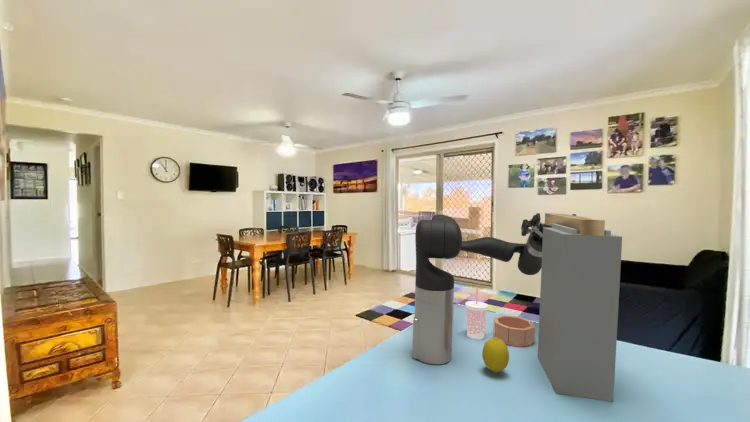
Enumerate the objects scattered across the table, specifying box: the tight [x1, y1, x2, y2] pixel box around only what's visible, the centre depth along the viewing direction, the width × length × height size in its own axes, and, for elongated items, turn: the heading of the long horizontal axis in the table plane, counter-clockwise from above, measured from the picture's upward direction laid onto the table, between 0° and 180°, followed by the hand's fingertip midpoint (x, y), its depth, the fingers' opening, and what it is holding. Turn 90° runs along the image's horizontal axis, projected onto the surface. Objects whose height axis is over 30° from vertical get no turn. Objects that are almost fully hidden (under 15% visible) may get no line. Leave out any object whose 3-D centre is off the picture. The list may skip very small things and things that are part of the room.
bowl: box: [492, 314, 536, 348], centre depth 90 cm, size 10×10×5 cm
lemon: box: [481, 336, 510, 374], centre depth 73 cm, size 6×6×8 cm
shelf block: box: [537, 224, 623, 403], centre depth 71 cm, size 10×15×33 cm, turn 166°
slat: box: [544, 212, 606, 236], centre depth 75 cm, size 4×26×3 cm, turn 166°
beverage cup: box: [464, 286, 489, 340], centre depth 92 cm, size 6×6×14 cm
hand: (556, 216), depth 84 cm, fingers open, 8 cm apart
